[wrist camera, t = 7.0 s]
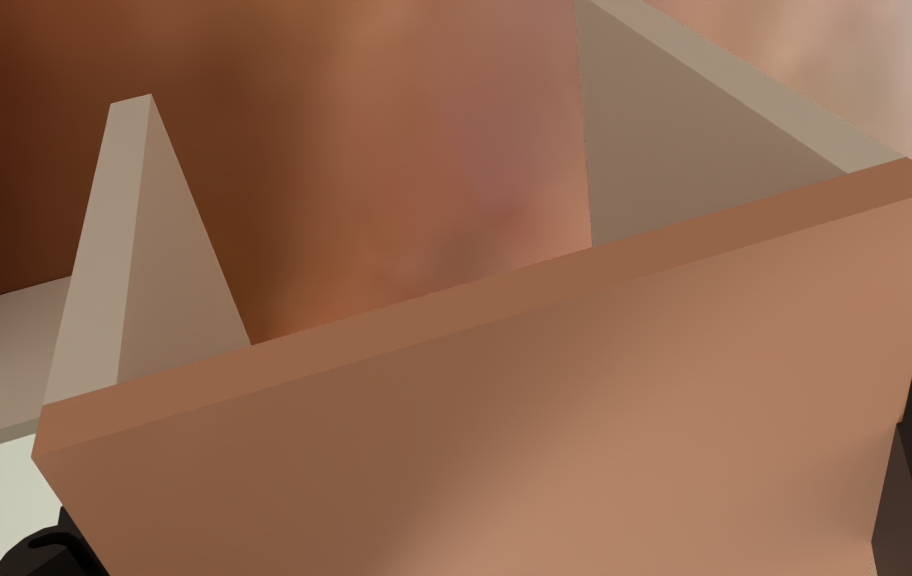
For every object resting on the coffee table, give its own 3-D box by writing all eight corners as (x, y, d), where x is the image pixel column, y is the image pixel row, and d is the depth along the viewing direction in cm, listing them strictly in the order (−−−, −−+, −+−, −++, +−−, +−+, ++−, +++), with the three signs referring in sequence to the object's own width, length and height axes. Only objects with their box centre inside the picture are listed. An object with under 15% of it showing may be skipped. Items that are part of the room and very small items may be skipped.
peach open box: (266, 463, 20) (305, 865, 13) (110, 103, 14) (31, 457, 7) (627, 353, 21) (847, 668, 14) (608, -20, 15) (954, 185, 8)
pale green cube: (38, 482, 36) (1, 664, 29) (-75, 315, 30) (-155, 489, 23) (248, 418, 37) (262, 579, 30) (174, 247, 31) (170, 393, 24)
